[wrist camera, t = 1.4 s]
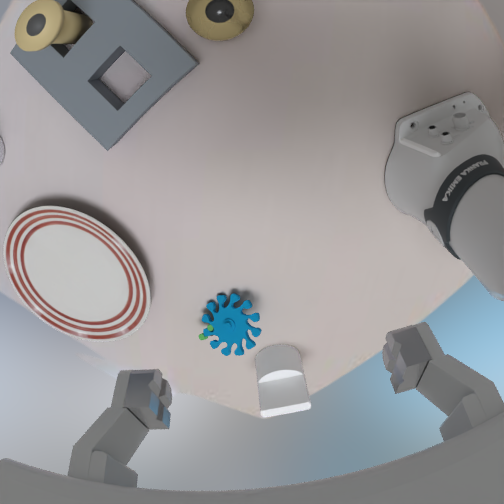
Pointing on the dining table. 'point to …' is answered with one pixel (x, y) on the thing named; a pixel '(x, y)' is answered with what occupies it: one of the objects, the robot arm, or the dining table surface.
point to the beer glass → (1, 151)
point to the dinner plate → (76, 274)
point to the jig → (98, 59)
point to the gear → (230, 325)
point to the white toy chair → (281, 381)
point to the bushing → (219, 18)
